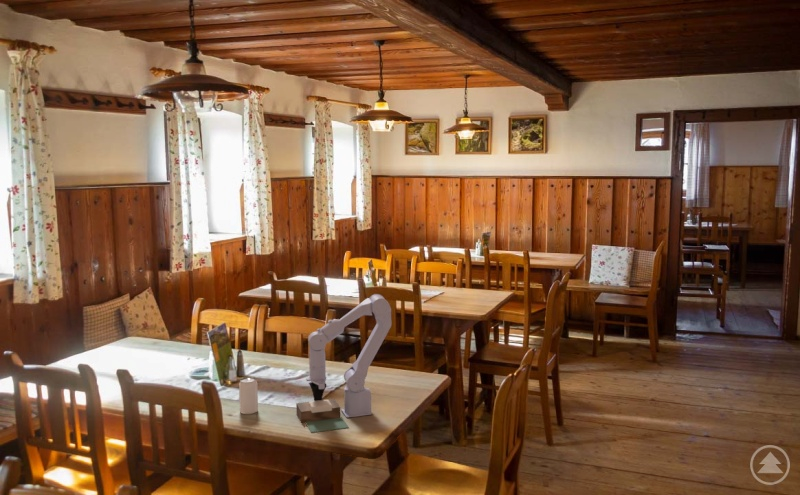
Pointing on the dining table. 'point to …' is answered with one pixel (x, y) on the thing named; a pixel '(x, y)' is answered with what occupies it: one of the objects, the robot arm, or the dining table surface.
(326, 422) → the mat
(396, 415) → the dining table surface
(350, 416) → the robot arm
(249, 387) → the can
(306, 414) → the riser
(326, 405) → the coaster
